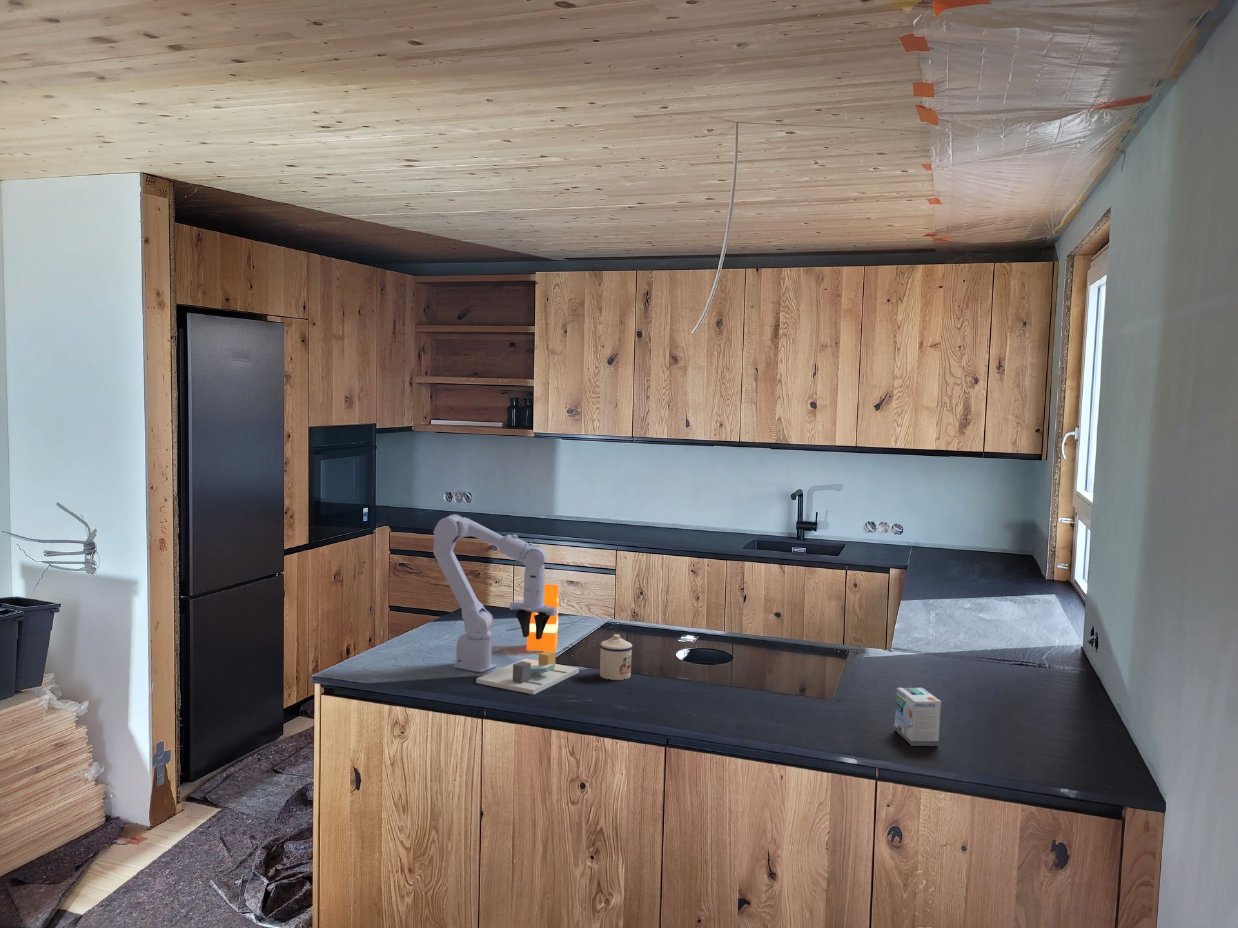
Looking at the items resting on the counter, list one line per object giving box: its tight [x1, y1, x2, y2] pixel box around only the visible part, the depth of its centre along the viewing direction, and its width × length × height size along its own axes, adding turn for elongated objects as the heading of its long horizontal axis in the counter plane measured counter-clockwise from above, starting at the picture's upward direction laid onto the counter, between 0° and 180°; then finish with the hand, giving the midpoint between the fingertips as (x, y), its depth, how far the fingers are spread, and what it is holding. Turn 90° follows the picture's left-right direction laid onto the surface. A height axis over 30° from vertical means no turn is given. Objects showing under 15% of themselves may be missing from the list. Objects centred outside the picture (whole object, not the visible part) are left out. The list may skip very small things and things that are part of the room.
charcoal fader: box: [512, 661, 531, 683], centre depth 244 cm, size 3×4×4 cm
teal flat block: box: [530, 664, 555, 673], centre depth 250 cm, size 8×4×1 cm, turn 63°
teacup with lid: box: [599, 633, 633, 681], centre depth 257 cm, size 12×9×12 cm
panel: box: [475, 658, 580, 696], centre depth 252 cm, size 18×24×2 cm
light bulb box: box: [894, 687, 942, 741], centre depth 214 cm, size 11×7×11 cm, turn 5°
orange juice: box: [526, 583, 560, 652], centre depth 282 cm, size 8×9×20 cm
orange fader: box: [538, 651, 557, 667], centre depth 256 cm, size 3×4×4 cm
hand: (532, 637), depth 258 cm, fingers open, 4 cm apart
